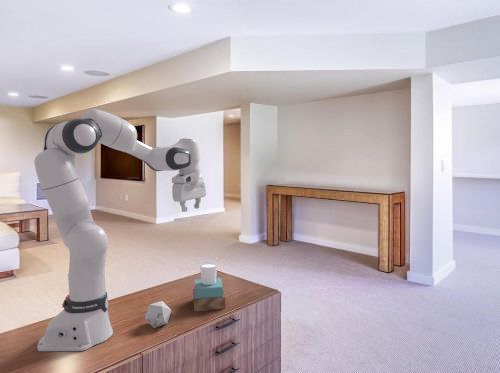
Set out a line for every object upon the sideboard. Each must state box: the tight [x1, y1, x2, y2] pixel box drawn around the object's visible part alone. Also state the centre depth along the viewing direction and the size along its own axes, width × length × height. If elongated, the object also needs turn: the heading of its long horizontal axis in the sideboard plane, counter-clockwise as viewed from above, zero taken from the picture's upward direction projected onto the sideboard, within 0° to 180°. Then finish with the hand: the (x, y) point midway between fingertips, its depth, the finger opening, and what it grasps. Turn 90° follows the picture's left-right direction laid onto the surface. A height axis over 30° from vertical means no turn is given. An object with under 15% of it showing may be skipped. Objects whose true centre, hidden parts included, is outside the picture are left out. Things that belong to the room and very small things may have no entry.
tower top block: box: [193, 277, 224, 299], centre depth 146 cm, size 11×11×4 cm
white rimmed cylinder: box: [199, 263, 218, 285], centre depth 146 cm, size 7×7×7 cm
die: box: [144, 300, 172, 329], centre depth 129 cm, size 8×9×10 cm
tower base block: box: [192, 288, 226, 312], centre depth 146 cm, size 12×12×5 cm
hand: (190, 209), depth 154 cm, fingers open, 8 cm apart
